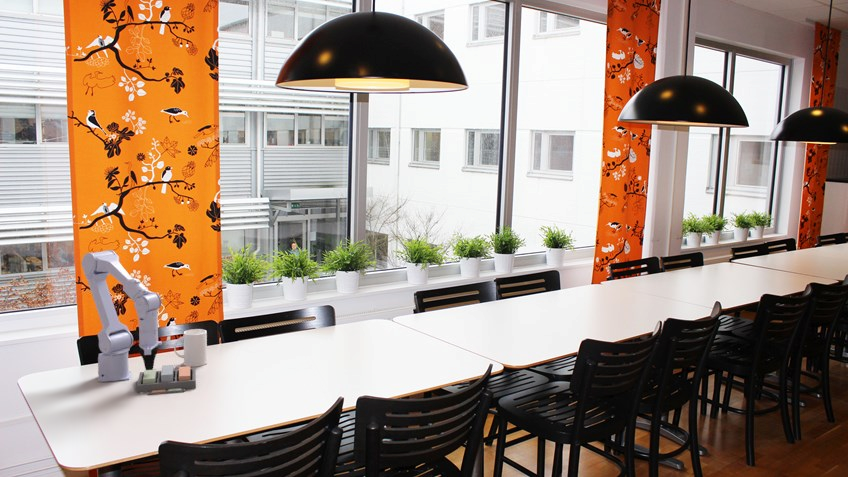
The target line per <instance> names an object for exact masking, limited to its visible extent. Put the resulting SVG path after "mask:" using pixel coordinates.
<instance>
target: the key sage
mask: <svg viewBox="0 0 848 477" xmlns="http://www.w3.org/2000/svg"><path fill="white" fill-rule="evenodd" d="M156 371H157V368H153V370H146V369H144V371H143V372H144V376H143V383H142V384H149V383H157V379H156Z"/></svg>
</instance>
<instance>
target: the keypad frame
mask: <svg viewBox="0 0 848 477" xmlns="http://www.w3.org/2000/svg"><path fill="white" fill-rule="evenodd" d="M196 369H197V368H196V367H190V378H191V377H192V379H190V380H186V381H179V380H178V379H179V368H178V369H173V372H174V375H173V379H174V380H173V382H161V371H162V370H156V383H149V384H143V376H144V371H141V372H139V374H138V380H137V383H136V384H137V385H136V393H137V394H145V393H149V391H152V390H164V389H165V390H168V389H176V388H185V390H191V389H196V388H197V382H196V381H197V380H196V378H197V375H196Z"/></svg>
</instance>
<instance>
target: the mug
mask: <svg viewBox="0 0 848 477" xmlns="http://www.w3.org/2000/svg"><path fill="white" fill-rule="evenodd" d="M207 338H208V333H207V330H206V329H203V328H194V329H187V330H184V332H183V336H180V337H179V338H178V339H177V340H176V341H175V343H174V346H173V349H174V353H175V355H177V356H178V358H182V359H183V366H184V367H186V366H190V368H196V367H202V366H205V365H207V364H208V362H209V361H208V344H207V343H208V342H207V341H208V339H207ZM180 341H183V354H181V353H178V351H177V349H176V347H177V344H179V342H180Z"/></svg>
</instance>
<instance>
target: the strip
mask: <svg viewBox="0 0 848 477" xmlns="http://www.w3.org/2000/svg"><path fill="white" fill-rule="evenodd" d="M185 390H186V389H185V388H176V389H168V390H165V389H164V390H152V391H149V392H147V393H148V394H147V395H149V396H150V395H161V394H163V395H164V394H173V393H184V392H185Z"/></svg>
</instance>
